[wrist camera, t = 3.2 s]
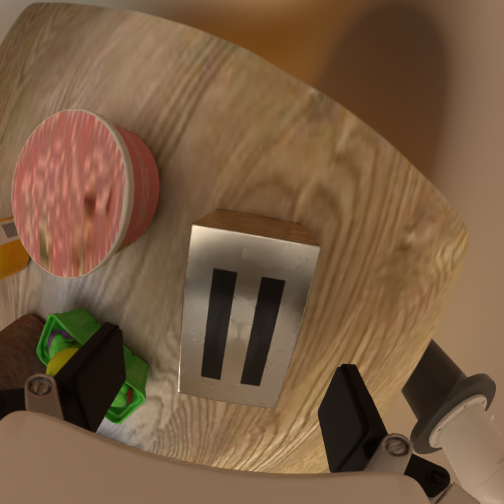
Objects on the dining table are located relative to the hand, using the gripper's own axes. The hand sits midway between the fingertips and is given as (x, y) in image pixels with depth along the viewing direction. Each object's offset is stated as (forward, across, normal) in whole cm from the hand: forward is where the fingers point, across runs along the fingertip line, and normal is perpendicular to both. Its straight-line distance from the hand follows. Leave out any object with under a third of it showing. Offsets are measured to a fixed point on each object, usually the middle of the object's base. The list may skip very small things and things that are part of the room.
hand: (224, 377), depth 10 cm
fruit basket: (+12, +12, +10) cm, 20 cm away
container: (+12, +12, -6) cm, 18 cm away
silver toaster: (+12, 0, 0) cm, 12 cm away
